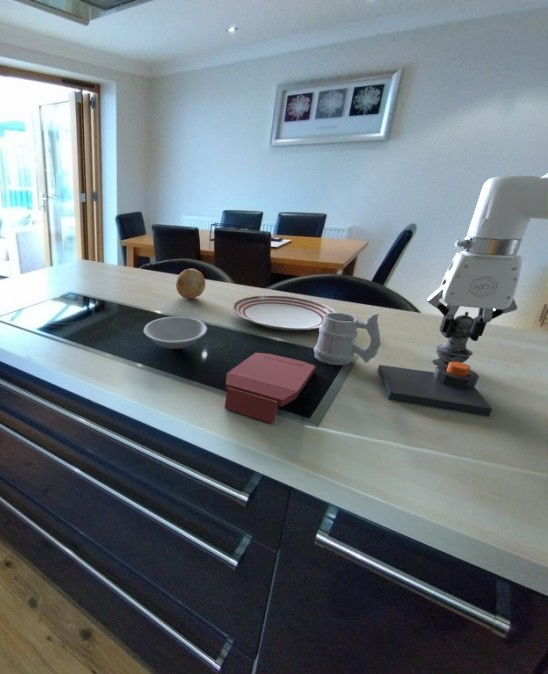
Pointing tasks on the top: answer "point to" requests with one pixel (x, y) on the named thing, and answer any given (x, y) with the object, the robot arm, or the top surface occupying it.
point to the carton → (265, 384)
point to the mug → (345, 339)
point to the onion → (190, 283)
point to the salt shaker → (456, 342)
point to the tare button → (458, 369)
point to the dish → (175, 331)
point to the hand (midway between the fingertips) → (458, 336)
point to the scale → (434, 389)
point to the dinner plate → (282, 312)
